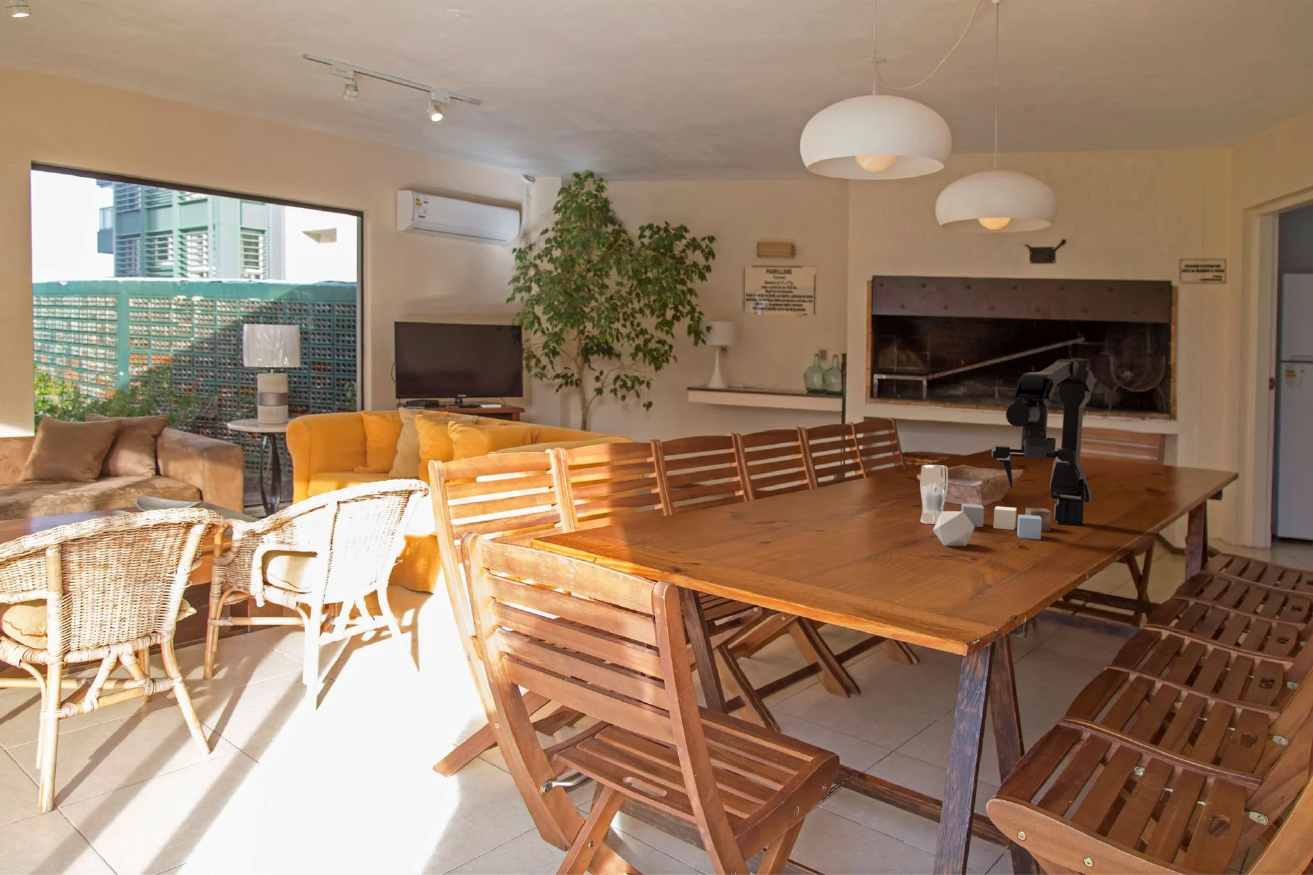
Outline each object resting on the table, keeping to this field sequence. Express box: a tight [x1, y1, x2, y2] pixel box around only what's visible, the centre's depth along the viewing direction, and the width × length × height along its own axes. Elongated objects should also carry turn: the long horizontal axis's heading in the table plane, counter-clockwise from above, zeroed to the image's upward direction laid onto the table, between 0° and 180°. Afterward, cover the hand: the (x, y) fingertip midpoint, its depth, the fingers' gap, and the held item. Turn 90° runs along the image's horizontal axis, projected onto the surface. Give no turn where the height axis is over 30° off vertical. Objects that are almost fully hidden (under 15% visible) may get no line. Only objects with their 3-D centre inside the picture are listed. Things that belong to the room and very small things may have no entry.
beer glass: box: [919, 464, 949, 526], centre depth 250 cm, size 7×7×15 cm
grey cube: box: [961, 503, 985, 528], centre depth 248 cm, size 5×5×5 cm
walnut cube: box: [1024, 507, 1052, 532], centre depth 244 cm, size 5×5×5 cm
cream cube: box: [993, 505, 1017, 531], centre depth 245 cm, size 5×5×5 cm
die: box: [932, 510, 975, 547], centre depth 222 cm, size 8×9×10 cm
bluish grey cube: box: [1016, 514, 1042, 540], centre depth 233 cm, size 5×5×5 cm
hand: (1030, 488), depth 233 cm, fingers open, 9 cm apart
